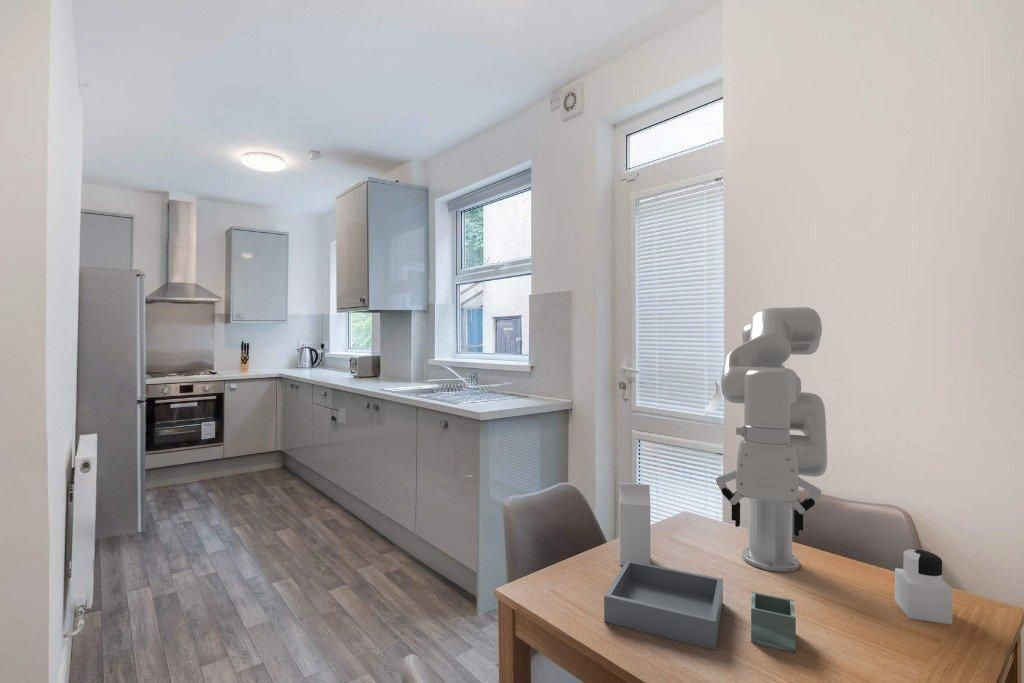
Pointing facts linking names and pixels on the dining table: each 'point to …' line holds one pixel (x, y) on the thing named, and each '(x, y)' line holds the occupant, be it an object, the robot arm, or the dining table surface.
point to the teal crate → (773, 622)
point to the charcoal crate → (666, 603)
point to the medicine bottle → (923, 588)
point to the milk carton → (634, 523)
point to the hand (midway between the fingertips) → (766, 529)
